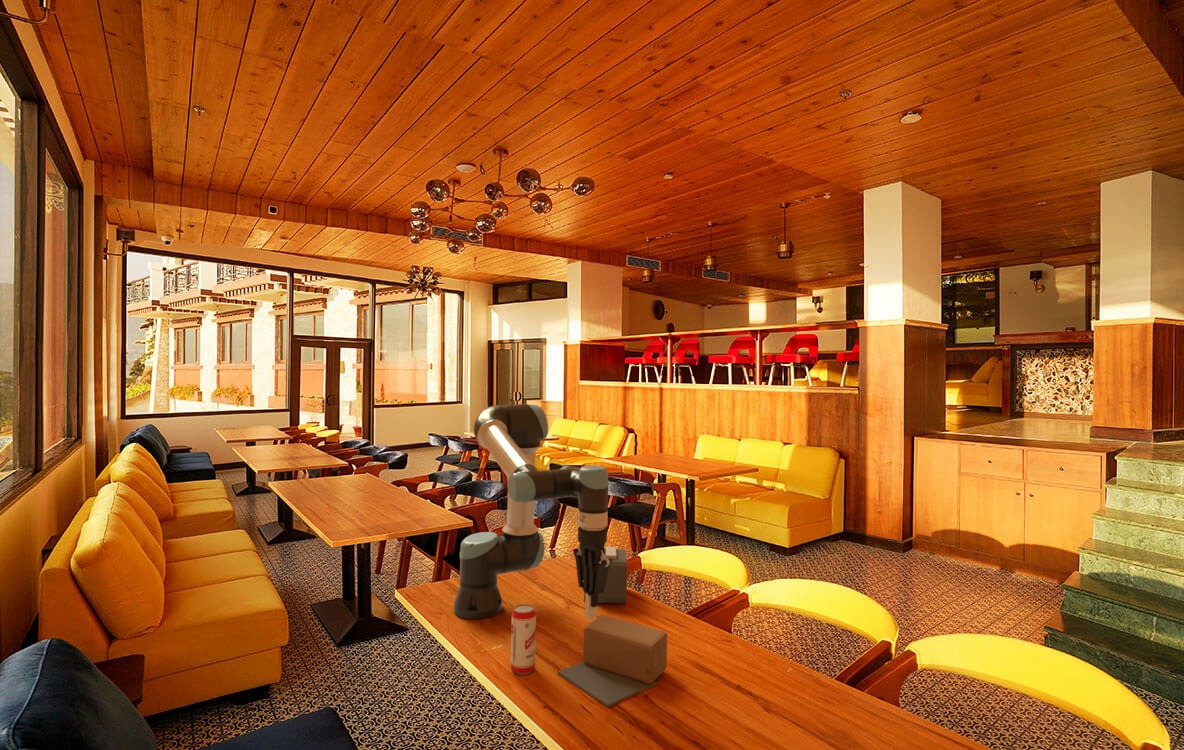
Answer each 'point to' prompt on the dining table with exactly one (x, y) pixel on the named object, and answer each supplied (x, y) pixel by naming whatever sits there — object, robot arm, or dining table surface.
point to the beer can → (523, 639)
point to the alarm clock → (615, 577)
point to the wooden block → (625, 648)
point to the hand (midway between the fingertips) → (590, 617)
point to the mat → (603, 683)
